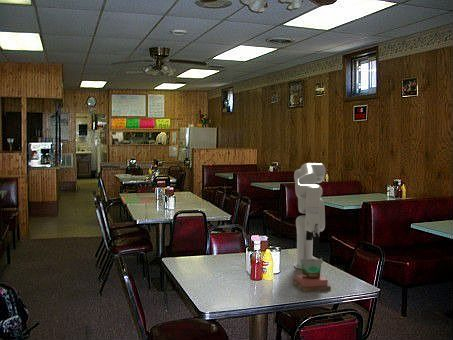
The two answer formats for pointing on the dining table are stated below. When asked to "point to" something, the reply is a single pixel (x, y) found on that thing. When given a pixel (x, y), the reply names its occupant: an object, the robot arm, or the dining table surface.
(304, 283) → the pink square slab
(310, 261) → the food container
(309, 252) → the robot arm
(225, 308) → the dining table surface
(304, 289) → the walnut slab
